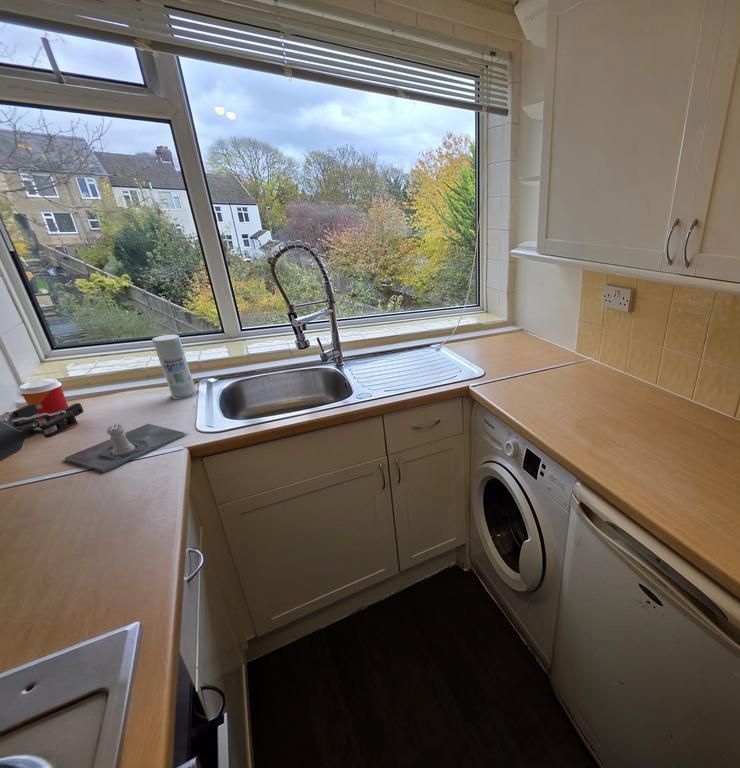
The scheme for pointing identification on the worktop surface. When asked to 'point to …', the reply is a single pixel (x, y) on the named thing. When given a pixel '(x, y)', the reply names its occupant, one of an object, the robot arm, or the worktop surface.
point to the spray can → (174, 366)
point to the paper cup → (44, 396)
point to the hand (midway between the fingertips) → (57, 407)
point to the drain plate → (143, 441)
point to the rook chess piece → (119, 440)
